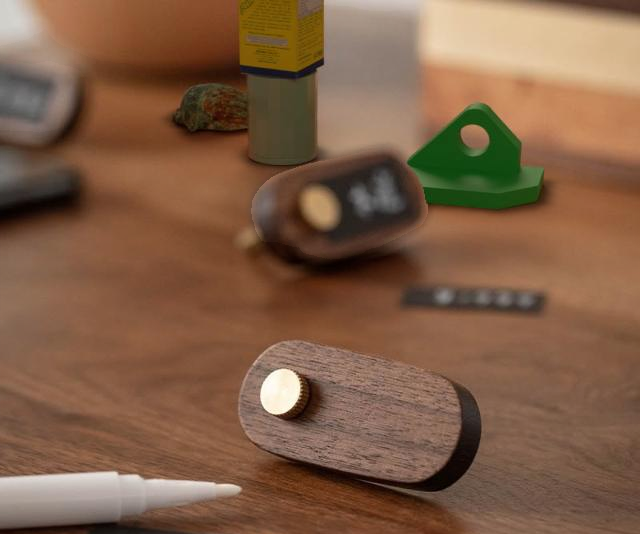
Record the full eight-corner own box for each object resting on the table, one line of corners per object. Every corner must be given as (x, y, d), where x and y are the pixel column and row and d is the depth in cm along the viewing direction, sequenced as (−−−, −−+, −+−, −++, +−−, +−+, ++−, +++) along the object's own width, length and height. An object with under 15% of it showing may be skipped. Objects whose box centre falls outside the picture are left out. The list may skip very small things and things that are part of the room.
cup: (241, 163, 120) (239, 77, 117) (257, 142, 126) (255, 60, 123) (309, 167, 119) (309, 81, 116) (322, 146, 125) (323, 63, 121)
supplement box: (268, 59, 123) (266, -61, 118) (325, 66, 121) (326, -56, 116) (237, 73, 118) (234, -51, 113) (296, 81, 116) (296, -46, 111)
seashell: (283, 74, 132) (221, 97, 125) (286, 114, 134) (225, 139, 127) (207, 68, 138) (143, 89, 130) (211, 107, 140) (148, 129, 132)
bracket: (391, 199, 111) (393, 121, 108) (409, 171, 118) (411, 97, 115) (532, 212, 108) (538, 132, 106) (543, 183, 115) (549, 107, 112)
